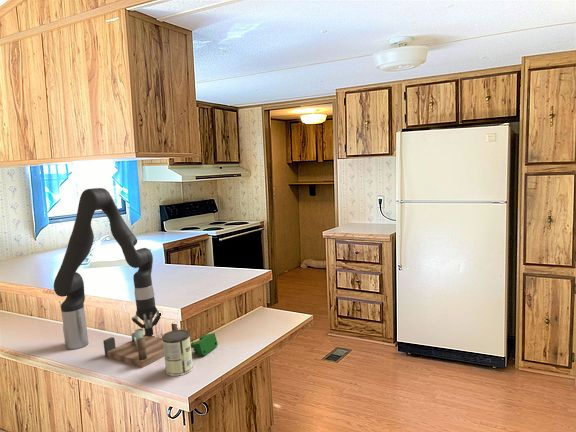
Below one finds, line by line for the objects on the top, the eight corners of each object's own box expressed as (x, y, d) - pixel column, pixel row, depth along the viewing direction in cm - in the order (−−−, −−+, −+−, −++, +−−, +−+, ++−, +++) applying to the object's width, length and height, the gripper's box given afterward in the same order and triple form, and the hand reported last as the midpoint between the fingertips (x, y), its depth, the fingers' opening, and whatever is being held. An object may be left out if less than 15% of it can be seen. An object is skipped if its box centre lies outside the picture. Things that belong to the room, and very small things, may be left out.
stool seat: (105, 356, 188) (102, 332, 186) (147, 337, 206) (144, 315, 205) (142, 367, 175) (140, 341, 173) (184, 346, 193) (181, 322, 192)
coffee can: (169, 364, 176) (165, 330, 174) (195, 362, 176) (192, 328, 174) (162, 377, 165) (158, 341, 164) (190, 375, 166) (187, 338, 164)
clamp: (206, 356, 191) (206, 335, 194) (218, 355, 189) (217, 333, 192) (188, 357, 181) (187, 334, 184) (199, 355, 179) (198, 332, 182)
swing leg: (131, 339, 197) (129, 322, 196) (139, 338, 198) (137, 320, 197) (137, 350, 184) (135, 332, 183) (145, 348, 186) (143, 330, 185)
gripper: (158, 291, 192) (163, 329, 194) (126, 297, 186) (131, 337, 188) (162, 295, 186) (167, 334, 188) (129, 302, 179) (135, 343, 182)
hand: (149, 336), depth 188 cm, fingers closed
